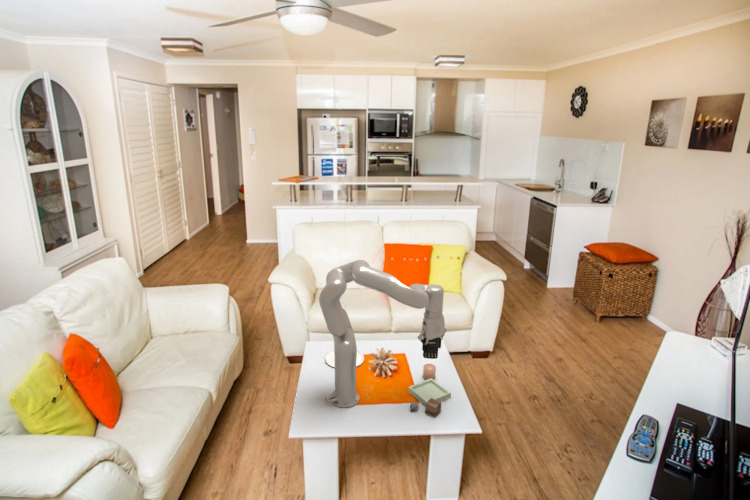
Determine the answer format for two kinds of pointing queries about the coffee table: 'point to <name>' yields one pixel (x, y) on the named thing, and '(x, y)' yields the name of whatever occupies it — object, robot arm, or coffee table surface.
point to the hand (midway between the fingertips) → (431, 348)
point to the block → (433, 407)
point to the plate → (331, 359)
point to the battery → (432, 349)
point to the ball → (413, 405)
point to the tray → (429, 391)
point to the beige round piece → (429, 371)
